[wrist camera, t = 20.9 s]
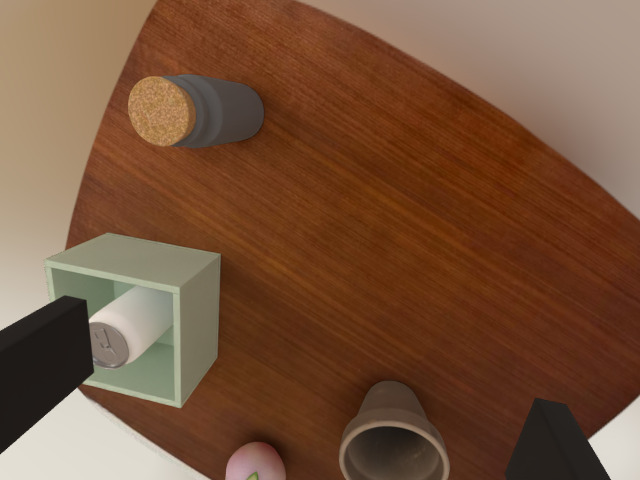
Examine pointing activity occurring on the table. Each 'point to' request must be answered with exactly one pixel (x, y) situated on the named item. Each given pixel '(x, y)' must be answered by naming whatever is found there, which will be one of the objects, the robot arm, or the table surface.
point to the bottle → (194, 111)
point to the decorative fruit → (255, 463)
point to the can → (129, 326)
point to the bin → (158, 273)
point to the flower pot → (392, 439)
